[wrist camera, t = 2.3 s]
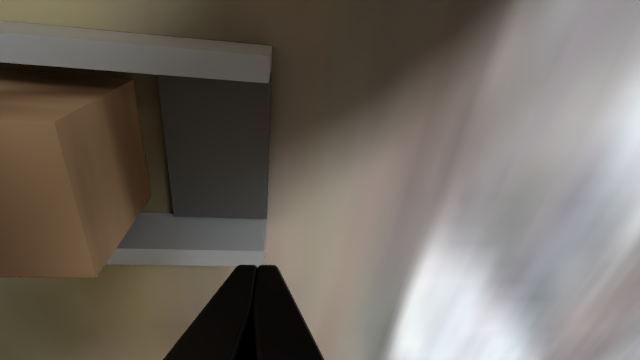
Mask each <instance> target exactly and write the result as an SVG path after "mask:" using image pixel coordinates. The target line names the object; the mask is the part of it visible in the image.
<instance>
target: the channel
mask: <svg viewBox="0 0 640 360" xmlns="http://www.w3.org/2000/svg"><path fill="white" fill-rule="evenodd" d="M0 62H4V63H16V64H29V65H42V66H54V67H67V68H80V69H93V70H105V71H118V72H131V73H144V74H156V75H157V79H158V87H159V96H160V104H161V113H162V121H163V129H164V138H165V146H166V154H167V163H168V171H169V180H170V188H171V196H172V205H173V213H155V212H140V214H139V215H138V217H137V218H136V220H135V221H134V223H133V224H132V226H131V227H130V229H129V230H128V232H127V233H126V234H125V236H124V237H123V239H122V240H121V242H120V243H119V245H118V246H117V248H116V249H115V251H114V252H113V254H112V255H111V257H110V258H109V260H108V261H107V263H106V264H105V265H179V266H238V265H256V266H257V267H258V266H259V265H264V255H265V242H266V230H267V198H268V165H269V133H270V100H271V67H272V46H269V45H258V44H247V43H236V42H226V41H215V40H204V39H193V38H182V37H171V36H160V35H149V34H139V33H128V32H117V31H106V30H95V29H84V28H73V27H62V26H52V25H41V24H30V23H19V22H8V21H0Z"/></svg>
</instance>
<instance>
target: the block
mask: <svg viewBox="0 0 640 360" xmlns="http://www.w3.org/2000/svg"><path fill="white" fill-rule="evenodd" d="M150 197H151V192H150V185H149V178H148V172H147V165H146V158H145V152H144V145H143V139H142V132H141V125H140V119H139V112H138V105H137V99H136V92H135V85H134V79H123V78H110V77H97V76H84V75H71V74H58V73H45V72H32V71H19V70H6V69H0V277H63V278H96V277H97V276H98V275H99V273H100V272H101V270H102V269H103V267H104V266H105V264H106V263H107V261H108V260H109V258H110V257H111V255H112V254H113V252H114V251H115V249H116V248H117V246H118V245H119V243H120V242H121V240H122V239H123V237H124V236H125V234H126V233H127V232H128V230H129V229H130V227H131V226H132V224H133V223H134V221H135V220H136V218H137V217H138V215H139V214H140V212H141V211H142V209H143V208H144V206H145V205H146V203H147V202H148V200H149V199H150Z"/></svg>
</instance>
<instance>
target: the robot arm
mask: <svg viewBox="0 0 640 360" xmlns="http://www.w3.org/2000/svg"><path fill="white" fill-rule="evenodd" d="M163 360H324V358H323V356H322V354H321V352H320V350H319V348H318V346H317V344H316V342H315V340H314V338H313V336H312V334H311V332H310V330H309V328H308V326H307V324H306V322H305V320H304V318H303V316H302V315H301V313H300V311H299V309H298V307H297V305H296V303H295V301H294V299H293V297H292V295H291V293H290V291H289V289H288V287H287V285H286V283H285V281H284V279H283V277H282V275H281V273H280V271H279V269H278V267H277V266H275V265H259V266H258V268H257V266H256V265H238V266H237V267H236V268H235V270H234V271H233V272H232V273H231V275H230V276H229V277H228V278H227V280H226V281H225V282H224V283H223V285H222V286H221V287H220V288H219V290H218V291H217V292H216V293H215V295H214V296H213V297H212V299H211V300H210V301H209V302H208V304H207V305H206V306H205V307H204V309H203V310H202V311H201V312H200V314H199V315H198V316H197V317H196V319H195V320H194V321H193V322H192V324H191V325H190V326H189V328H188V329H187V330H186V331H185V333H184V334H183V335H182V336H181V338H180V339H179V340H178V341H177V343H176V344H175V345H174V346H173V348H172V349H171V350H170V351H169V353H168V354H167V355H166V357H165V358H164V359H163Z"/></svg>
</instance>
